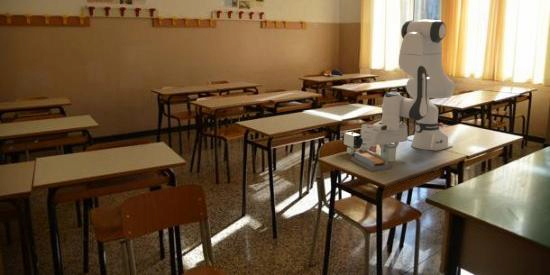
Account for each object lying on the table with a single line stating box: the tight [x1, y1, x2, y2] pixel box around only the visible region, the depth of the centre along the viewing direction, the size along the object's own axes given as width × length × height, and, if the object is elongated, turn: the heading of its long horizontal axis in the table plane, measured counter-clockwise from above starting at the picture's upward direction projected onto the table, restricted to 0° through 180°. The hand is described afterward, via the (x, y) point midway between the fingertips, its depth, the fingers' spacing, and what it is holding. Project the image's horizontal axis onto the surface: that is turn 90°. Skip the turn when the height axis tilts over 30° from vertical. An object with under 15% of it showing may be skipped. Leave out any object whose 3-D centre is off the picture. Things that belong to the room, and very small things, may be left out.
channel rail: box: [350, 150, 392, 172], centre depth 203 cm, size 11×18×4 cm, turn 20°
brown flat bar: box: [361, 152, 384, 164], centre depth 203 cm, size 5×14×1 cm, turn 20°
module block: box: [380, 143, 397, 162], centre depth 211 cm, size 4×7×8 cm, turn 20°
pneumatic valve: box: [341, 131, 363, 155], centre depth 220 cm, size 6×12×12 cm, turn 31°
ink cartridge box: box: [360, 123, 378, 152], centre depth 226 cm, size 9×5×15 cm, turn 74°
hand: (388, 151), depth 211 cm, fingers open, 5 cm apart
